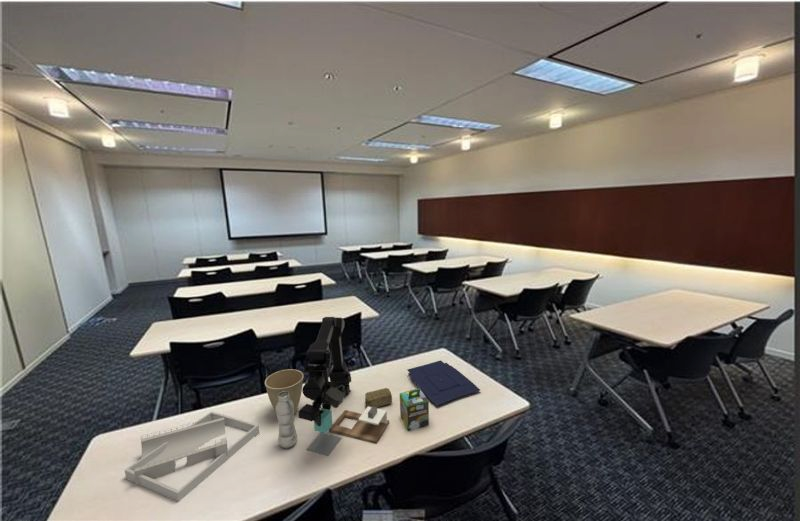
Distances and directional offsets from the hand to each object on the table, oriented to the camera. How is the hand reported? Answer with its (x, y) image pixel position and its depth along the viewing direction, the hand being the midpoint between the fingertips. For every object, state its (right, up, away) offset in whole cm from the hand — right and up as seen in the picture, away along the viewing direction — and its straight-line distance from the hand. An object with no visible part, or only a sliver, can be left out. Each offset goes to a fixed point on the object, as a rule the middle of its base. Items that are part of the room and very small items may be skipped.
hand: (323, 421), depth 113 cm
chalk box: (+33, -7, +12) cm, 36 cm away
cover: (+17, -6, +7) cm, 20 cm away
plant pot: (-20, -7, +20) cm, 29 cm away
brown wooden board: (+12, -8, +10) cm, 17 cm away
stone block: (+21, -6, +26) cm, 34 cm away
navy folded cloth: (+47, -2, +38) cm, 61 cm away
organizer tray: (-43, -11, -2) cm, 44 cm away
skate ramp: (-47, -11, -4) cm, 48 cm away
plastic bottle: (-13, -10, +2) cm, 17 cm away
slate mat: (0, -9, +1) cm, 9 cm away
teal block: (0, -3, 0) cm, 3 cm away
